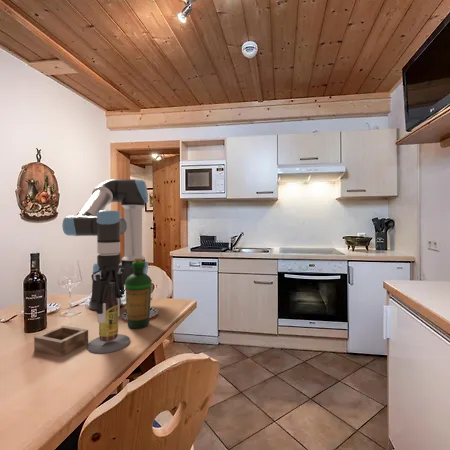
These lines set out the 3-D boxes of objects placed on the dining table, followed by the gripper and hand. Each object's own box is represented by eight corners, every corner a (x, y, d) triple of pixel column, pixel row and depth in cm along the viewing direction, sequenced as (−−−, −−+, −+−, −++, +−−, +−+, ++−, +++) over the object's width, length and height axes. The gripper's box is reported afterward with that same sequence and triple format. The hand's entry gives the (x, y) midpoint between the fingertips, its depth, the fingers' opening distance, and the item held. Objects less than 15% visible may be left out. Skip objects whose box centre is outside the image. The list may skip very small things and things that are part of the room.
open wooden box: (63, 337, 103) (63, 325, 103) (88, 342, 99) (88, 329, 99) (34, 350, 93) (34, 337, 93) (60, 356, 89) (60, 342, 89)
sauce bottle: (111, 343, 94) (110, 285, 93) (95, 341, 95) (94, 284, 95) (122, 335, 100) (121, 281, 100) (106, 333, 102) (106, 280, 101)
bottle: (119, 328, 112) (119, 259, 111) (135, 319, 122) (135, 256, 121) (142, 331, 109) (142, 261, 108) (156, 322, 119) (156, 257, 118)
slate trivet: (107, 333, 107) (107, 331, 107) (137, 338, 102) (137, 337, 102) (77, 349, 94) (77, 347, 94) (110, 356, 89) (110, 354, 89)
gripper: (118, 250, 108) (119, 309, 108) (78, 256, 90) (78, 327, 90) (135, 251, 105) (135, 311, 106) (96, 258, 87) (96, 330, 88)
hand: (109, 318), depth 98 cm, fingers closed on sauce bottle, 6 cm apart
